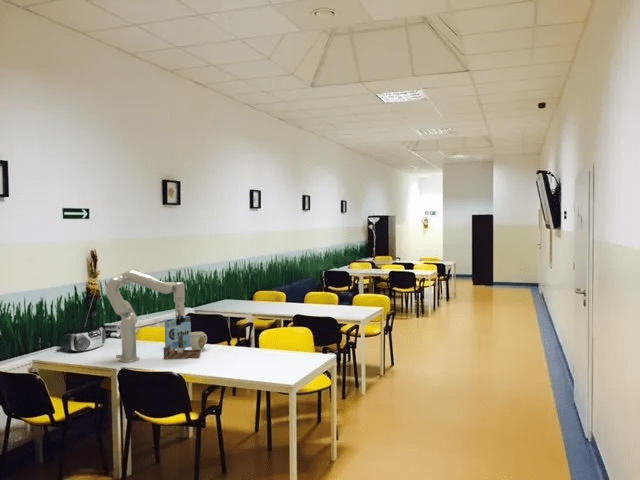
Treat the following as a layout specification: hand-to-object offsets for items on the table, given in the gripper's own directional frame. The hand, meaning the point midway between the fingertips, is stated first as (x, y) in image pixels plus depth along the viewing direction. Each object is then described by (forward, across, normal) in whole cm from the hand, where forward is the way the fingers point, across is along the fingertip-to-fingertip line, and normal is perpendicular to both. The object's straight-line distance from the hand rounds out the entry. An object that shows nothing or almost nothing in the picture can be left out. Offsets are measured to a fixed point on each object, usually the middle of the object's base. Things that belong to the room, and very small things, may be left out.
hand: (179, 323), depth 389 cm
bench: (+24, 0, -1) cm, 24 cm away
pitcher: (+24, +20, -9) cm, 33 cm away
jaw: (+22, 0, 0) cm, 22 cm away
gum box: (+24, +31, +8) cm, 40 cm away
